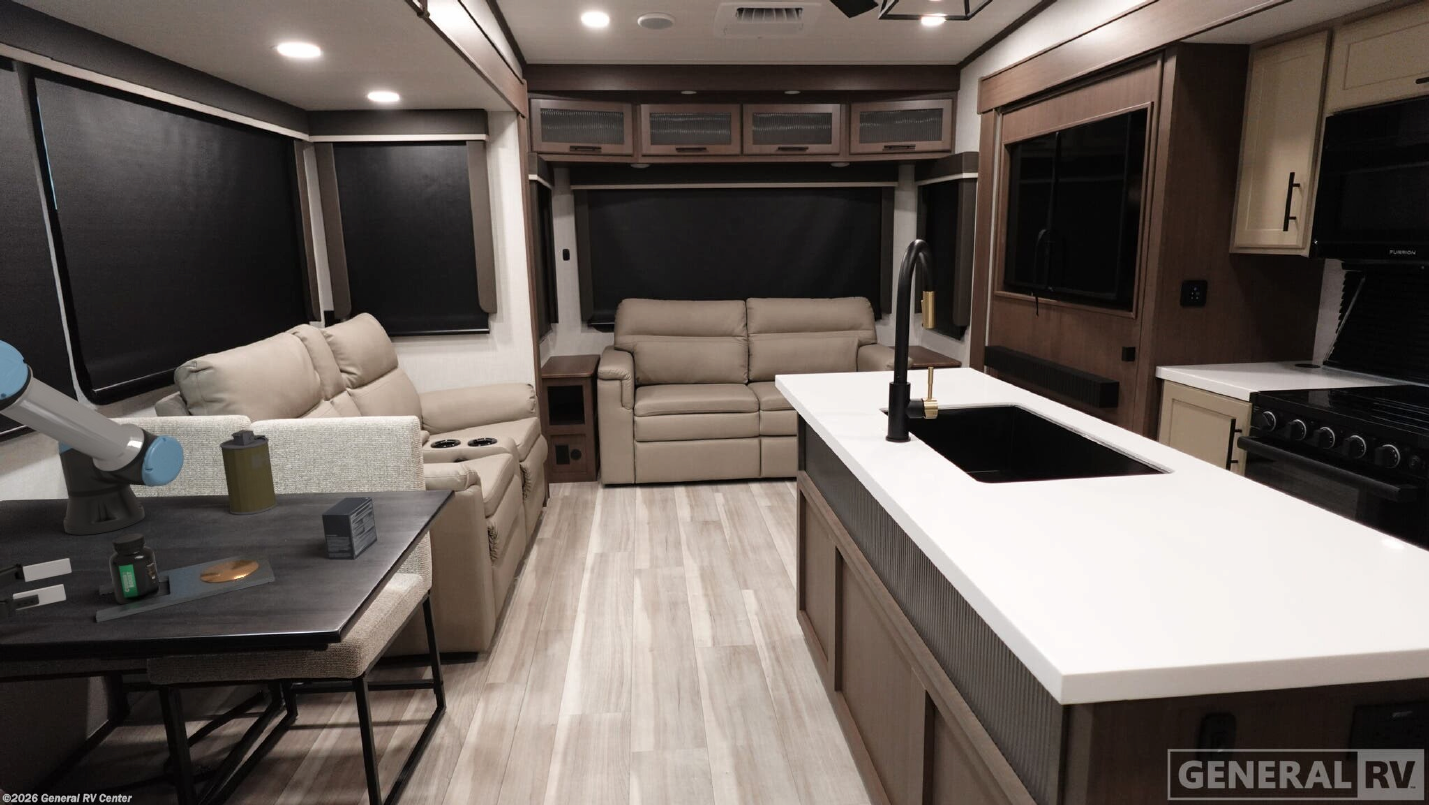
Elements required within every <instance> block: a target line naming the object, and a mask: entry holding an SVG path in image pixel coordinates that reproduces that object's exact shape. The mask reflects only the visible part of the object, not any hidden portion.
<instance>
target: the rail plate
mask: <svg viewBox="0 0 1429 805" xmlns="http://www.w3.org/2000/svg"><path fill="white" fill-rule="evenodd" d="M157 573H158V579H159V582H160V583H163V582H169V592H170V594H166V595H161V596H158V597H157V596H155V597H153V598H151V599H147V600H143V601H139V602H134V603H130V604H121V605H117V606H113V607H108V608H104V609H99V610H96V614H95V615H96V616H95V618H96V623H101V622H105V621H111V620H115V619H119V618H123V617H127V616H131V615H134V614H135V615H137V614H140V613H143V612H144V613H145V612H149V611H152V610H153V611H154V610H157V609H162V608H165V607H170V606H174V605H178V604H183V603H186V602H190V601H195V600H196V601H197V600H200V599H204V598H208V597H212V596H216V595H217V596H218V595H221V594H225V593H229V592H234V591H238V590H241V589H246V588H250V587H255V586H259V585H263V584H268V582H269V583H273V582H275V581H276V578H275V574H274V572H273V569H272V566H271V564H270V562H269V558H268V556H267V554H266V550H259V551H255V552H249V553H245V554H240V555H236V556H235V555H234V556H231V557H230V556H229V557H226V558H225V557H224V558H221V559H215V560H211V561H206V562H203V563H202V562H201V563H198V564H193V565H188V566H183V567H178V568H173V569H170V570H165V571H159V572H157ZM98 592H99V596H103V595H102V594H105V595H109V594H111V593H110V592H114V587H113V581H112V582H108V583H103V584H99V590H98ZM108 593H109V594H108ZM114 593H115V592H114Z"/></svg>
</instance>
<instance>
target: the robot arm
mask: <svg viewBox="0 0 1429 805" xmlns="http://www.w3.org/2000/svg"><path fill="white" fill-rule="evenodd" d="M23 360H25V358H24V357H23V355H22V354H21V352H20V351H18V349H17V348H16V347H14V346H12V345H11V344H9V343H8V342H5V341H3V340H0V415H3V416H5V417H7V418H9V419H11V420H13V421H16V422H18V423H20V424H22V425H24V426H26V427H28V428H30V429H32V430H34V431H37V432H39V433H41V434H43V435H45V436H47V437H48V438H51V439H53V440H54V441H57V442H58V443H57V444H58V456H59V458H60V464H61V468H62V472H63V474H62V475H63V477H64V481H65V482H64V483H65V486H66V490H67V491H66V492H67V498H68V500H67V506H66V512H65V517H64V519H63V527H64V532H65V533H67V534H69V535H75V536H76V535H77V536H79V535H80V536H81V535H84V536H85V535H86V536H87V535H95V534H103V533H107V532H112V531H116V530H120V529H124V528H126V527H127V528H128V527H130V526H133V525H134V524H137V523H139V522H141V521H142V520H143V519H144V518H145V510H144V507H143V505H142V504H141V503H140V501H139V499H138V497H137V495H136V494H135V493H134V490H133V489H132V486H146V487H151V488H153V487H163V486H166V485H169V483H172V482H173V481H174V480H176V479H177V477H178V476H179V474H180V473H181V471H182V468H183V465H184V460H185V456H184V447H183V446H182V444H181V443H180V441H179V440H178V439H177V438H174V437H173V436H168V435H165V434H163V435H156V434H154V433H151V432H149V431H148V430H146V429H144V428H142V427H140V426H139V425H137V424H135V423H123V424H120V423H118V422H116V421H114V420H112V419H110V418H109V417H107V416H105V415H104V414H101V413H100V412H98V411H96V410H94V409H92V408H90V407H89V406H87V405H85V404H83V403H82V402H79V401H78V400H76V399H74V398H72V397H70V396H68V395H66V394H64V393H63V392H61V391H59V390H57V389H55V388H53V387H52V386H50V385H48V384H47V383H45V382H42V381H40V380H39V379H37V378H35V377H34V375H33V370H32V368H31V366H30V365H28V364H27V363H26V362H24V361H23ZM71 573H72V567H71V562H70V558H69V557H68V558H62V559H61V558H60V559H56V560H52V561H51V560H50V561H46V562H40V563H36V564H32V565H31V564H30V565H27V566H24V564H23V562H21V561H20V562H16V563H14V564H12V565H7V566H4V567H1V568H0V590H2V589H5V588H7V587H9V586H12V585H14V584H17V583H19V582H22V581H25V583H27V582H32V581H35V580H43V579H46V578H51V577H56V576H62V575H66V574H71ZM66 600H67V596H66V591H65V587H64V583H62V584H56V585H52V586H47V587H46V586H45V587H42V588H38V589H33V590H28V591H23V592H19V593H13V595H12V597H11V596H10V597H9V596H0V620H3V619H9V618H13V617H16V615H17V614H16V611H20V610H24V609H28V608H34V607H38V606H43V605H48V604H52V603H56V602H62V601H66Z"/></svg>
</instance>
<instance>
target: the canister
mask: <svg viewBox="0 0 1429 805" xmlns="http://www.w3.org/2000/svg"><path fill="white" fill-rule="evenodd" d="M230 436H231V437H233V438H231V439H227V440H226V441H223V442H221V443H220V444H219V448H220V449H221V454H222V455H221V456H222V460H223V468H224V475H225V482H226V487H227V488H226V489H227V495H228V502H229V510H228V511H229V512H230V513H231V514H232V515H237V516H238V515H239V516H243V515H244V516H247V515H248V516H249V515H254V514H260V513H264V512H267V511H270V510H272V509H274V508H276V506H278V501H277V500H276V492H275V486H274V485H275V484H274V478H273V469H272V463H271V455H270V449H269V448H270V447H269V441H270V439H269V438H268V437H266V435H265V434H257V435H256V434H255V432H254V430H249V429H241V430H238V431H236V432H233V433H231V435H230Z"/></svg>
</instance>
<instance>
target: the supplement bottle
mask: <svg viewBox="0 0 1429 805" xmlns="http://www.w3.org/2000/svg"><path fill="white" fill-rule="evenodd" d="M146 544H147V541H146V538H145V534H143V533H140V532H139V533H128V534H124V535H121V536H117V537H115V538H114V539H113V540H112V550H113V553H112V555H110V557H109V560H108V564H109V569H110V575H111V580H112V582H113V587H114V596H115V600H116V602H117V603H118V604H121V605H125V604H130V603H134V602H139V601H143V600H147V599H152V598H156V597H157V595H158V594H159V593H160V592H161V587H160V585H161V584H160V583H159V579H158V573H159V572H158V568H157V563H156V558H155V551H154V550H153V549H152V548H151V547H148V546H146Z"/></svg>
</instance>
